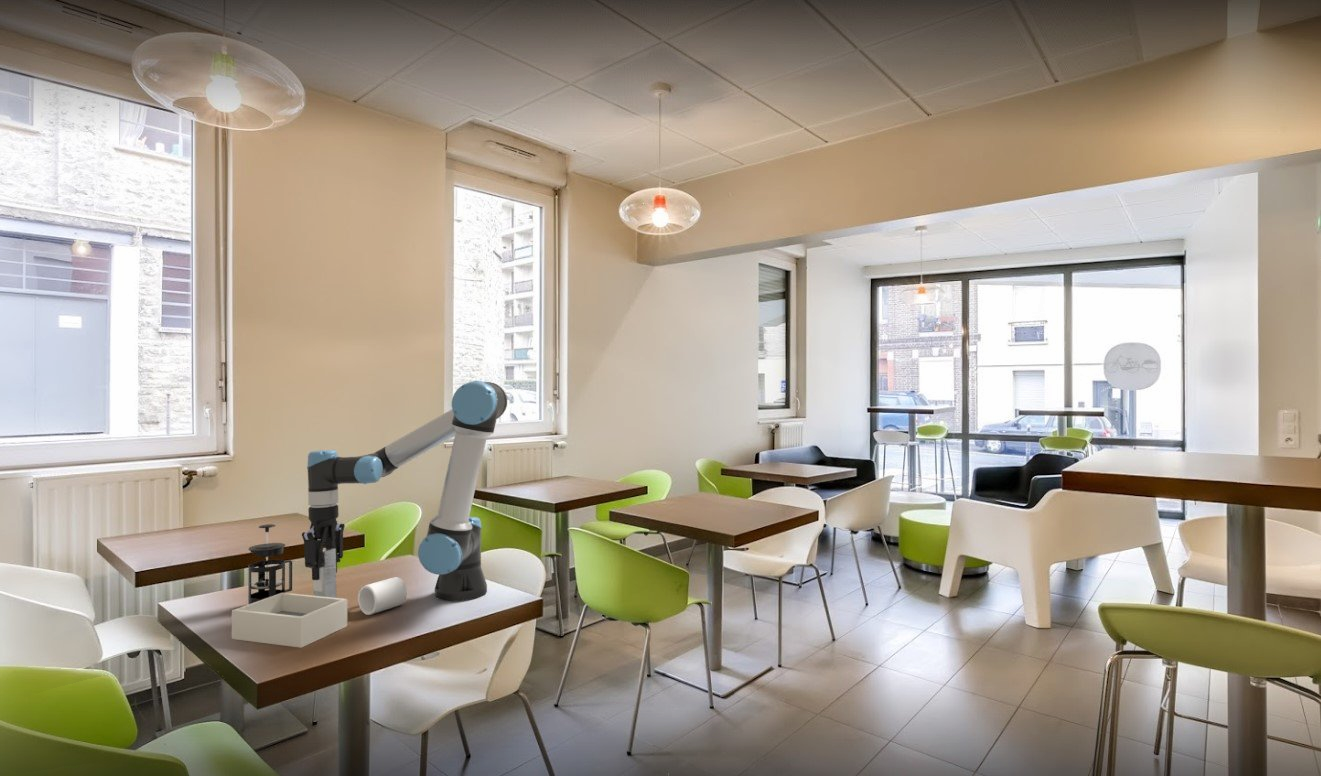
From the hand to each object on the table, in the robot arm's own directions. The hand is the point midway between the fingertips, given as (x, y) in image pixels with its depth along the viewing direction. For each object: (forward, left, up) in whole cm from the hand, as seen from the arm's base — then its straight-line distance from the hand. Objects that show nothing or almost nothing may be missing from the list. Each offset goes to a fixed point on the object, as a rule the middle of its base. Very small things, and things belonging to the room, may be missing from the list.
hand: (325, 588), depth 184 cm
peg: (0, 0, -3) cm, 3 cm away
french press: (+18, +2, -6) cm, 19 cm away
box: (-6, +18, -6) cm, 19 cm away
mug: (-14, -4, -6) cm, 16 cm away
